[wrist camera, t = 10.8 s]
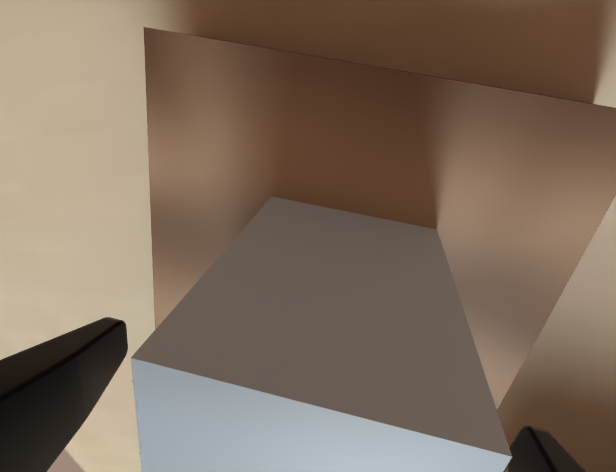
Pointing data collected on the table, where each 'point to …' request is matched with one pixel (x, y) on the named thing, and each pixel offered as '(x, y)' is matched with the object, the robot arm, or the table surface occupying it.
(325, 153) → the walnut base
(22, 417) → the robot arm
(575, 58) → the table surface
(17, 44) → the table surface
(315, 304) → the grey block
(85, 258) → the table surface
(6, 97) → the table surface
